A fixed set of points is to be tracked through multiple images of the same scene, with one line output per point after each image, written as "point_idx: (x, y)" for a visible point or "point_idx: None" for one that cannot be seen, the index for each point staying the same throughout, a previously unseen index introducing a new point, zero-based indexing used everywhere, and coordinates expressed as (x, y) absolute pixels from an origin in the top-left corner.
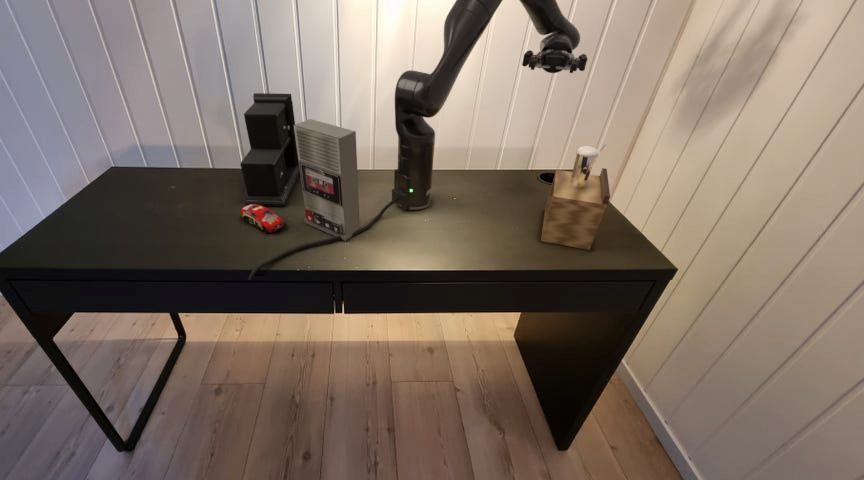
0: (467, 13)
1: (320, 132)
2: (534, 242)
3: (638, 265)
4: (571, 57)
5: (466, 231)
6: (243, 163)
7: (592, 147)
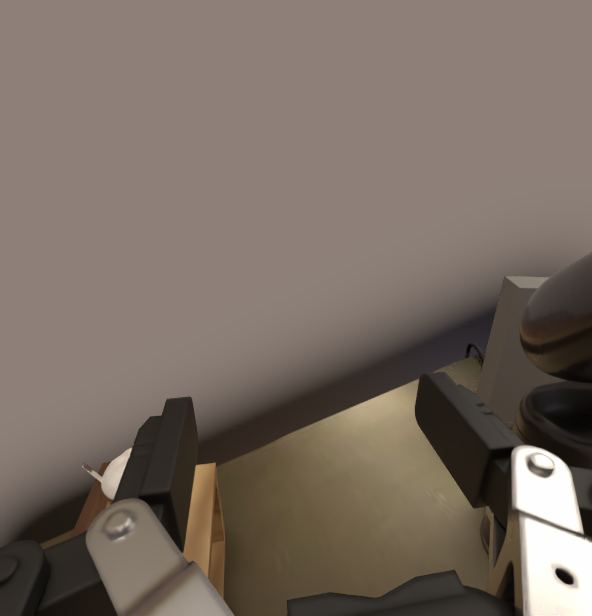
0: None
1: (543, 277)
2: (236, 525)
3: (47, 544)
4: (168, 565)
5: (359, 498)
6: None
7: (117, 478)
